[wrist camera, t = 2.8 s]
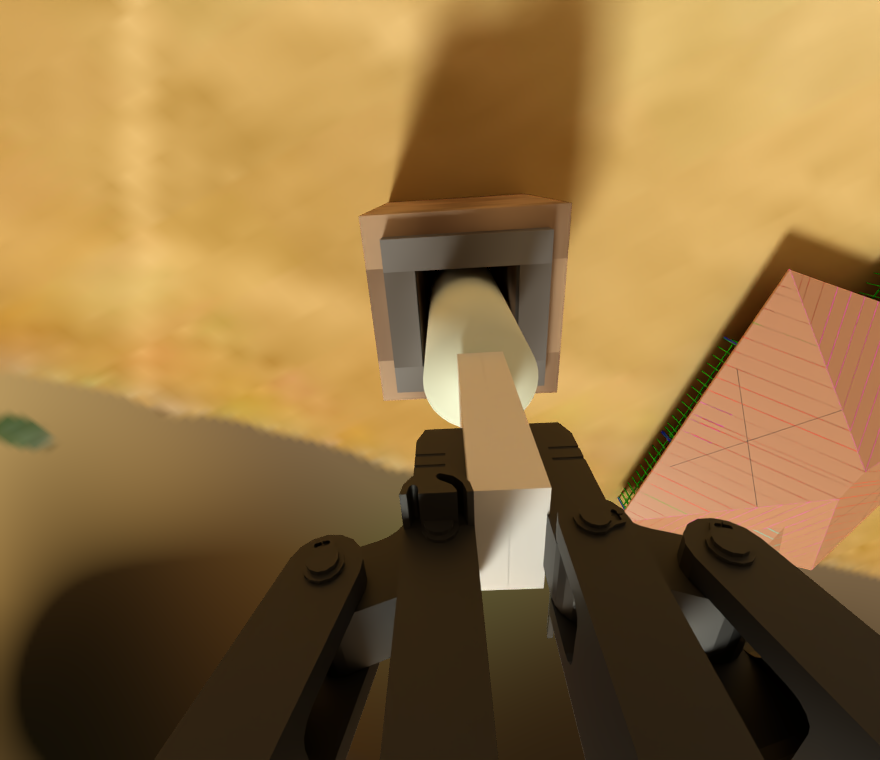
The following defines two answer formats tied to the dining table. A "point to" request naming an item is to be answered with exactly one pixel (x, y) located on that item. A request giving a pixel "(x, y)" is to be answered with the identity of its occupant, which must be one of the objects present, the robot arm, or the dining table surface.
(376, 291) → the socket block
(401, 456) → the dining table surface
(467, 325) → the peg
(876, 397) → the house
